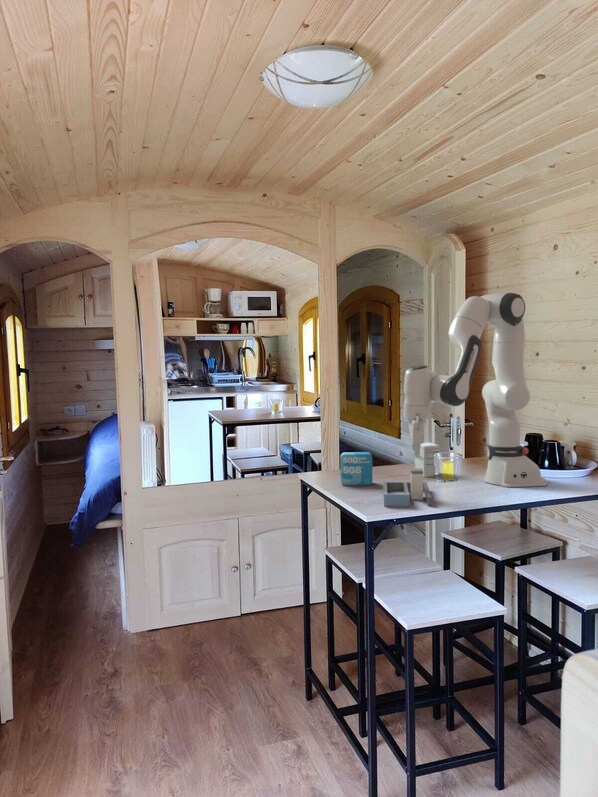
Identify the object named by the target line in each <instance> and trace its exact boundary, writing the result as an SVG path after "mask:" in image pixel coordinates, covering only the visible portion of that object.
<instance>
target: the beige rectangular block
mask: <svg viewBox="0 0 598 797" xmlns="http://www.w3.org/2000/svg"><path fill="white" fill-rule="evenodd" d="M410 482H411V491H410V500H411V499H412V501H413V500H414V499H417V501H418V500H419V501H423V500H424V491H423V482H424V477H423V469H415V468H410Z"/></svg>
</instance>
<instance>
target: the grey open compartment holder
mask: <svg viewBox="0 0 598 797" xmlns="http://www.w3.org/2000/svg"><path fill="white" fill-rule="evenodd" d="M382 485H383V486H382V487H383V488H382V489H383V506H384V507H397V506H399V507H398V508H400V507H402V506H403V508H404V507H405V508H407V507H406V506H410V507H411V503H410V501H411V493H410V492H411V481H383V484H382ZM388 491H389V492H391V491H394V492H396V491H399V492H401V491H402V492H403V493H388ZM423 495H424V497H425V501H426V504H427V506H428V507H432V506H433V501H432V500H433V498H432V494H431V491H430V488H429V485H428V483H427V481H423Z"/></svg>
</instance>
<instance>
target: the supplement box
mask: <svg viewBox="0 0 598 797" xmlns="http://www.w3.org/2000/svg"><path fill="white" fill-rule="evenodd" d="M435 453H439V454H440V445H439V444H436V443H433V442H423V444H421V446H420V455H419V456H415V455H414V469H423V478H431V477H435V476H434V475H435V466H434V454H435Z"/></svg>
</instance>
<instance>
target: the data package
mask: <svg viewBox="0 0 598 797" xmlns="http://www.w3.org/2000/svg"><path fill="white" fill-rule="evenodd" d="M339 458H340V483H341V484H342V485H343V486H370V485H372V484H373V456H372V454H371V452H369V451H353V452H349V451H348V452H347V451H346V452H345V451H344V452H342V453H340V457H339Z"/></svg>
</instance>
